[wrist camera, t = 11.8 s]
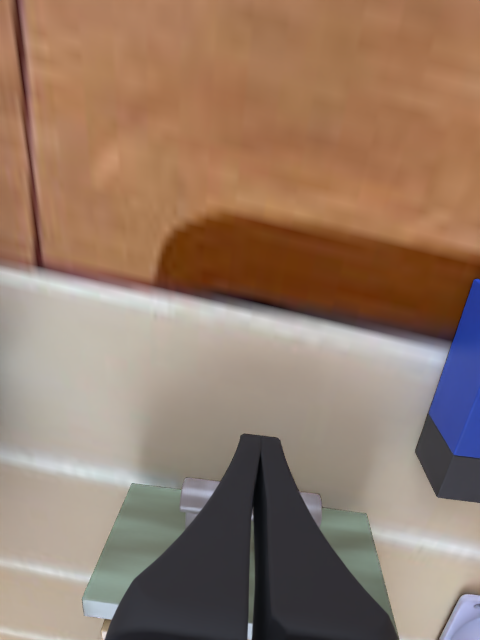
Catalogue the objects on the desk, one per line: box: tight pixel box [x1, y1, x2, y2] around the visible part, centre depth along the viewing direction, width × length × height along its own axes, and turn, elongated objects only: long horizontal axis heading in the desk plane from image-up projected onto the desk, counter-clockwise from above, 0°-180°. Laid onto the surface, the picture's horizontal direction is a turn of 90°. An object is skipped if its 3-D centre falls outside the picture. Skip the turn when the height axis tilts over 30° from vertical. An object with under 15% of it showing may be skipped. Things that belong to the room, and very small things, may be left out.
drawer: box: [82, 477, 399, 640], centre depth 21 cm, size 20×13×6 cm
